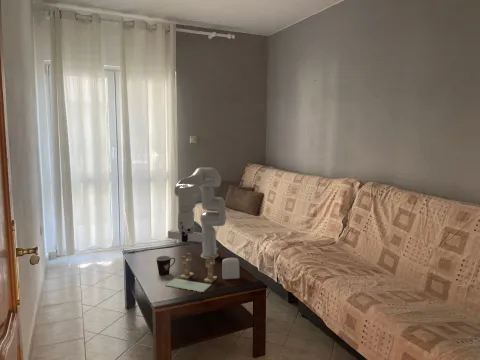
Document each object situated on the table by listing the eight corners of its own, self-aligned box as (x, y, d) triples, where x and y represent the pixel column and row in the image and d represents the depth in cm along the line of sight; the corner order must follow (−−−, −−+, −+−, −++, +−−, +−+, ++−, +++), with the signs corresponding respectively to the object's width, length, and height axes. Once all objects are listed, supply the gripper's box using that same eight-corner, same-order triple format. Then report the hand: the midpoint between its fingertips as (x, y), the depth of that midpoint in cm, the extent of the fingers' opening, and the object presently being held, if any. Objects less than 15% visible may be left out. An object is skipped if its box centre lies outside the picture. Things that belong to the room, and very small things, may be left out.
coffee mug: (157, 277, 215) (156, 261, 214) (156, 272, 223) (156, 256, 222) (176, 275, 218) (176, 259, 217) (175, 270, 226) (174, 254, 225)
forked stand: (186, 273, 221) (185, 252, 219) (217, 278, 213) (216, 256, 211) (180, 277, 214) (179, 256, 212) (211, 282, 206) (211, 260, 204)
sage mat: (175, 279, 212) (175, 278, 211) (211, 285, 202) (211, 284, 202) (165, 285, 202) (165, 284, 202) (202, 292, 193) (202, 291, 193)
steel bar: (172, 236, 205) (171, 229, 204) (206, 240, 197) (205, 233, 196) (168, 238, 201) (167, 231, 201) (202, 242, 193) (202, 235, 192)
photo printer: (222, 279, 210) (222, 259, 209) (222, 277, 214) (221, 257, 213) (239, 279, 211) (239, 258, 210) (239, 276, 215) (238, 256, 214)
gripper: (187, 205, 206) (188, 236, 208) (171, 210, 191) (172, 244, 193) (199, 206, 203) (200, 237, 205) (183, 211, 188) (184, 245, 190)
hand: (186, 240), depth 199 cm, fingers closed on steel bar, 4 cm apart
